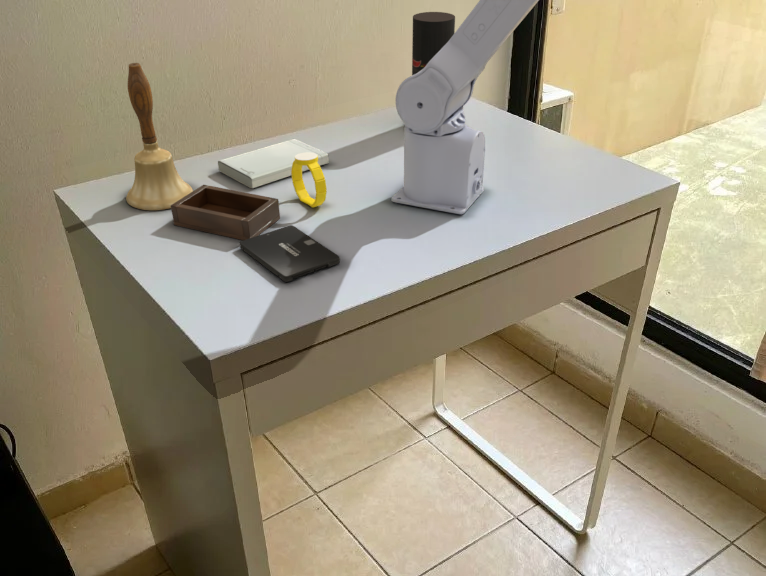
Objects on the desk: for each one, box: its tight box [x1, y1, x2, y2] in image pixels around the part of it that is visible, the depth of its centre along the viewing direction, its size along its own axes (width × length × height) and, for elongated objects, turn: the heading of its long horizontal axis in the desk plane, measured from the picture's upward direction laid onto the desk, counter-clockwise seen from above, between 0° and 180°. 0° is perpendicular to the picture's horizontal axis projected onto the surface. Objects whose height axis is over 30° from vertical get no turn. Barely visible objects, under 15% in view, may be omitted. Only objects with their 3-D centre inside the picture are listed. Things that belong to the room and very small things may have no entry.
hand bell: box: [125, 62, 194, 211], centre depth 92 cm, size 8×8×16 cm
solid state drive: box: [239, 225, 341, 283], centre depth 84 cm, size 7×10×1 cm
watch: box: [291, 152, 328, 208], centre depth 93 cm, size 6×3×6 cm, turn 36°
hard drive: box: [217, 138, 330, 189], centre depth 104 cm, size 2×8×12 cm
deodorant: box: [411, 11, 456, 76], centre depth 112 cm, size 6×6×15 cm
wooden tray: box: [170, 184, 281, 241], centre depth 91 cm, size 11×7×2 cm, turn 65°
